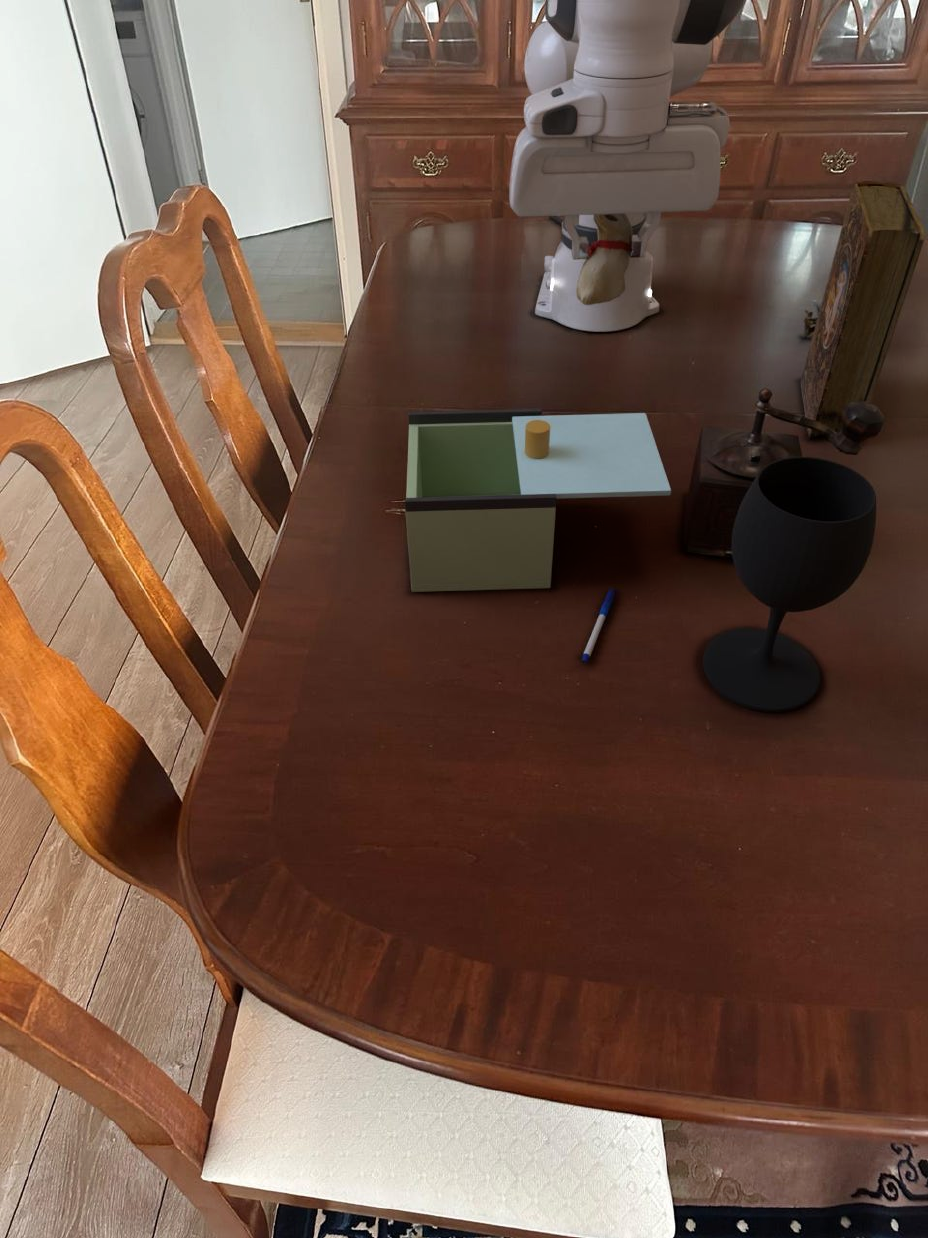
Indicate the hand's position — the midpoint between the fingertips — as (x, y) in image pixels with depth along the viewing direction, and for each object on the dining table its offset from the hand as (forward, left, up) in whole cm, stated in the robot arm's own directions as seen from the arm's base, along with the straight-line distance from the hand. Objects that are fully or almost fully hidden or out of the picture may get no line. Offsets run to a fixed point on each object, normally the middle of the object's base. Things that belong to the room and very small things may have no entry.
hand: (607, 256), depth 91 cm
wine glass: (+36, +11, -24) cm, 45 cm away
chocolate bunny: (0, 0, -4) cm, 4 cm away
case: (+16, -14, -24) cm, 32 cm away
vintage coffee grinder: (+16, +16, -24) cm, 33 cm away
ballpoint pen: (+30, -3, -24) cm, 39 cm away
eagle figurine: (-27, +38, -24) cm, 52 cm away
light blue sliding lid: (+16, -3, -13) cm, 21 cm away
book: (-9, +31, -24) cm, 40 cm away
